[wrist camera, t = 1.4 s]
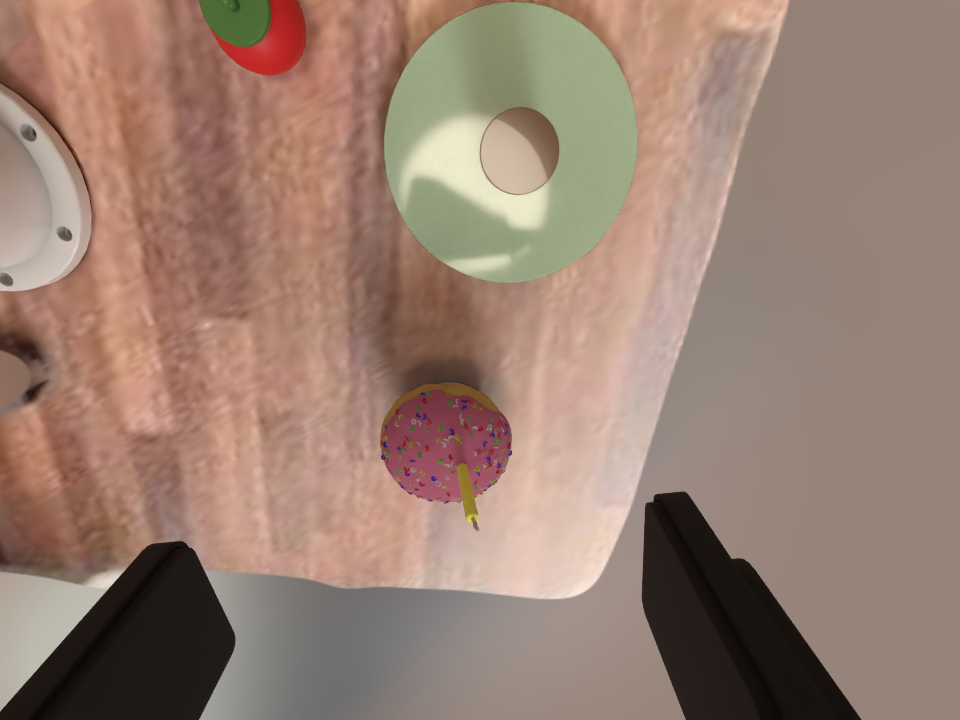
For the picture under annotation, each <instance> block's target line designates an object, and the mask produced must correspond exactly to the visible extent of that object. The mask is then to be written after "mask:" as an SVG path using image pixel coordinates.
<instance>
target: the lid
mask: <svg viewBox="0 0 960 720" xmlns="http://www.w3.org/2000/svg"><path fill="white" fill-rule="evenodd" d="M637 148H638V129H637V117H636V112H635V107H634V101H633V98H632V95H631V92H630V89H629V86H628V83H627V81H626V78H625V76H624V74H623V72H622V70H621V68H620V66H619V64H618V63H617V61H616V60H615V58H614V57H613V55H612V54H611V52H610V51H609V49H608V48H607V47H606V46H605V45H604V44H603V42H602V41H601V40H600V39H599V38H598V37H597V36H596V35H595V34H594V33H593V32H591V31H590V30H589V29H588V28H587V27H586V26H584V25H583V24H582V23H580V22H579V21H577V20H575V19H574V18H572V17H570V16H569V15H567V14H565V13H563V12H560V11H558V10H555V9H553V8H550V7H547V6H543V5H539V4H534V3H526V2H503V3H494V4H490V5H486V6H482V7H478V8H475V9H473V10H470V11H468V12H466V13H463V14H461V15H459V16H457V17H456V18H454V19H452V20H451V21H449V22H448V23H446V24H444V25H443V26H442V27H440V28H439V29H438V30H437V31H436V32H434V33H433V34H432V35H431V36H430V37H429V38H428V39H427V40H426V41H425V42H424V43H423V44H422V45H421V46H420V48H419V49H418V50H417V51H416V52H415V53H414V55H413V56H412V58H411V59H410V61H409V62H408V64H407V65H406V67H405V68H404V70H403V72H402V74H401V76H400V78H399V80H398V82H397V84H396V87H395V90H394V92H393V95H392V98H391V101H390V104H389V109H388V113H387V118H386V123H385V133H384V161H385V167H386V174H387V179H388V183H389V187H390V190H391V194H392V197H393V199H394V202H395V204H396V207H397V209H398V211H399V213H400V215H401V217H402V218H403V220H404V222H405V224H406V225H407V227H408V228H409V230H410V231H411V232H412V234H413V235H414V237H415V238H416V239H417V240H418V241H419V242H420V243H421V244H422V246H423V247H424V248H425V249H426V250H427V251H429V252H430V253H431V254H432V255H433V256H434V257H436V258H437V259H438V260H439V261H441V262H443V263H444V264H446V265H447V266H449V267H450V268H452V269H454V270H456V271H458V272H461V273H463V274H465V275H468V276H471V277H474V278H477V279H481V280H486V281H491V282H503V283H513V282H524V281H529V280H534V279H539V278H542V277H545V276H547V275H550V274H553V273H555V272H557V271H559V270H561V269H563V268H565V267H567V266H569V265H570V264H572V263H573V262H575V261H576V260H578V259H579V258H581V257H582V256H583V255H584V254H586V253H587V252H588V251H589V250H590V249H591V248H593V246H594V245H595V244H596V243H597V242H598V241H599V240H600V239H601V238H602V237H603V236H604V234H605V233H606V232H607V230H608V229H609V228H610V226H611V225H612V224H613V222H614V220H615V219H616V217H617V215H618V213H619V212H620V210H621V208H622V206H623V204H624V201H625V199H626V197H627V194H628V192H629V189H630V186H631V182H632V179H633V176H634V171H635V165H636V159H637Z"/></svg>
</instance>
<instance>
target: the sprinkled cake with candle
mask: <svg viewBox="0 0 960 720" xmlns="http://www.w3.org/2000/svg"><path fill="white" fill-rule="evenodd" d="M511 441H512V432H511V428H510V426H509V423H508V421H507V419H506V418H505V416H504V415H503V414H502V413H500V411H499V410H498V408H497V407H496V406H495V404H494V403H493V402H492V401H491V399H490V398H489V397H488V396H486V395H485V394H483V393H481V392H479V391H477V390H475V389H473V388H471V387H469V386H467V385H464V384H461V383H457V382H444V383H440V384H432V383H429V384H424V385H422V386H420V387H418V388H416V389H414V390H412V391H410V392H408V393H406V394H405V395H403V396H401V397H400V398H398V399H397V400H396V401H395V403H394V404H393V406H392V407H391V409H390V411H389V412H388V414H387V415H386V417H385V419H384V421H383V424H382V429H381V437H380V445H381V451H382V454H383V455H382V456H381V458H382V459H383V460H384V461H385V465H386V467H387V469H388V471H389V473H390V475H391V476H392V477H393V478H394V479H395V481H396V482H397V483H398V484H399V485H400V486H401V488H403V489H404V490H405V491H407V492H408V493H409V494H411V495H412V494H414V495H416V497H417V498H418V499H419V497H421V498H422V499H425V500H427V501H428V502H430V501H433V500H434V501H442V502H444V504H447V503H448V502H456V501H457V502H459V503H461V501H462V500H463V505H464V511H465V516H466V520H467V522H468V523H473V527H474V529H475V530H476V531H479V528H478V526H477V520H478V512H477V508H476V503H475V499H474V498H475V497H477V496H478V494H483V493H482V492H483V491H486V490H487V489H488V488H489V487H491V486H492V485H494V484H495V483H496V482H497V480H498V479H499V478H500V476H501V474H502V473H504V472H505V469H506V465H507V462H508V459H509V456H510V455H511V454H512V451H511ZM510 452H511V454H510ZM383 457H384V458H383ZM476 495H477V496H476ZM445 502H446V503H445Z"/></svg>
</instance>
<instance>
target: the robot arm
mask: <svg viewBox="0 0 960 720" xmlns="http://www.w3.org/2000/svg"><path fill="white" fill-rule="evenodd" d="M91 224H92V213H91V206H90V199H89V194H88V191H87V188H86V185H85V182H84V179H83V176H82V173H81V171H80V169H79V167H78V165H77V163H76V161H75V159H74V157H73V155H72V153H71V152H70V150H69V149H68V147H67V146H66V145H65V143H64V142H63V140H62V139H61V137H60V136H59V134H58V133H57V132H56V130H55V129H54V128H53V127H52V126H51V125H50V124H49V123H48V122H47V121H46V119H45V118H44V117H43V116H42V115H41V114H40V113H39V112H38V111H37V110H36V109H35V108H33V107H32V106H31V105H30V104H29V103H27V102H26V101H25V100H24V99H23V98H21V97H20V96H19V95H18V94H16V93H15V92H13V91H12V90H10V89H8V88H7V87H5V86H4V85H2V84H1V83H0V291H22V290H28V289H35V288H38V287H41V286H45V285H48V284H52V283H54V282H56V281H58V280H60V279H62V278H63V277H65V276H67V275H68V274H69V273H70V272H71V271H72V270H73V269H74V268H75V267H76V266H77V265H78V264H79V262H80V261H81V259H82V257H83V256H84V254H85V252H86V250H87V247H88V243H89V240H90V236H91ZM643 553H644V554H643V580H642V603H643V608H644V611H645V615H646V618H647V620H648V623H649V626H650V628H651V630H652V634H653V636H654V639H655V641H656V644H657V646H658V649H659V652H660V654H661V657H662V659H663V662H664V665H665V667H666V670H667V672H668V675H669V677H670V680H671V683H672V685H673V688H674V690H675V693H676V695H677V698H678V701H679V703H680V706H681V708H682V711H683V714H684V716H685V719H686V720H861V719H860V717H859V716H858V714H857V713H856V712H855V710H854V709H853V707H852V706H851V704H850V703H849V702H848V700H847V699H846V697H845V696H844V695H843V693H842V692H841V691H840V689H839V687H838V686H837V685H836V683H835V682H834V680H833V679H832V678H831V676H830V675H829V673H828V672H827V671H826V669H825V668H824V666H823V665H822V663H821V662H820V661H819V659H818V658H817V656H816V655H815V654H814V652H813V651H812V649H811V648H810V647H809V645H808V644H807V643H806V641H805V640H804V638H803V637H802V635H801V634H800V633H799V631H798V630H797V628H796V627H795V625H794V624H793V623H792V621H791V620H790V618H789V617H788V616H787V614H786V613H785V611H784V610H783V609H782V607H781V606H780V604H779V603H778V601H777V600H776V599H775V597H774V596H773V594H772V593H771V592H770V590H769V589H768V587H767V586H766V585H765V583H764V582H763V580H762V579H761V578H760V576H759V575H758V573H757V572H756V570H755V569H754V568H753V567H752V566H751V565H750V563H748V562H747V561H745V560H744V559H738V558H737V559H731V557H730V556H729V554H728V553H727V551H726V550H725V548H724V547H723V545H722V544H721V542H720V541H719V540H718V538H717V536H716V535H715V533H714V532H713V530H712V529H711V528H710V526H709V524H708V523H707V522H706V520H705V519H704V517H703V515H702V514H701V512H700V511H699V510H698V508H697V507H696V505H695V504H694V502H693V501H692V499H691V498H690V496H689V495H688V494H687V493H686V492H673V493H663V494H656V495H655V496H654V501H653V502H649V503H646V506H645V525H644V552H643ZM234 647H235V634H234V631H233V629H232V627H231V625H230V623H229V621H228V619H227V617H226V615H225V613H224V611H223V608H222V606H221V604H220V603H219V600H218V599H217V596H216V594H215V592H214V590H213V588H212V586H211V584H210V582H209V580H208V577H207V575H206V573H205V571H204V569H203V567H202V565H201V563H200V561H199V559H198V557H197V555H196V553H195V551H194V550H193V549H192V548H189V547H188V546H187V544H186V543H184V542H182V541H176V542H166V543H156V544H151V545H149V546H147V547H146V548H145V549H144V550H143V551H142V552H141V553H140V554H139V555H138V556H137V558H136V559H135V560H134V561H133V562H132V563H131V564H130V565H129V567H128V568H127V569H126V570H125V571H124V572H123V573H122V574H121V576H120V577H119V578H118V579H117V580H116V581H115V582H114V584H113V585H112V586H111V587H110V588H109V589H108V590H107V591H106V593H105V594H104V595H103V596H102V597H101V598H100V599H99V601H98V602H97V603H96V604H95V605H94V606H93V607H92V609H91V610H90V611H89V612H88V613H87V614H86V615H85V616H84V617H83V619H82V620H81V621H80V622H79V623H78V624H77V625H76V627H75V628H74V629H73V630H72V631H71V632H70V633H69V635H68V636H67V637H66V638H65V639H64V640H63V641H62V643H61V644H60V645H59V646H58V647H57V648H56V649H55V650H54V652H53V653H52V654H51V655H50V656H49V657H48V658H47V659H46V660H45V662H44V663H43V664H42V665H41V666H40V667H39V668H38V670H37V671H36V672H35V673H34V674H33V675H32V676H31V678H30V679H29V680H28V681H27V682H26V683H25V684H24V685H23V686H22V688H21V689H20V690H19V691H18V692H17V693H16V694H15V696H14V697H13V698H12V699H11V700H10V701H9V702H8V703H7V705H6V706H5V707H4V708H3V709H2V710H1V712H0V720H199V719H200V717H201V715H202V712H203V711H204V709H205V707H206V704H207V703H208V701H209V699H210V697H211V695H212V693H213V691H214V689H215V687H216V685H217V683H218V681H219V679H220V677H221V675H222V673H223V671H224V669H225V667H226V665H227V663H228V661H229V659H230V657H231V655H232V653H233V651H234Z"/></svg>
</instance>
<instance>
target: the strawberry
mask: <svg viewBox="0 0 960 720" xmlns="http://www.w3.org/2000/svg"><path fill="white" fill-rule="evenodd" d="M200 6H201V10H202V13H203V15H204V18H205V20H206V22H207V23H208V25H209V27H210V28H211V31H212V33H213V35H214V37H215V38H216V40H217V42H218V43H219V45H220V46H221V48H222V49H223V50H224V51H225V52H226V54H227V55H228V56H229V57H230V58H231V59H233V60H234V61H235V62H236V63H237V64H239V65H240V66H242V67H244V68H245V69H247V70H249V71H252V72H255V73H258V74H262V75H277V74H281V73H284V72H286V71H288V70H289V69H291V68H292V67H293V66H294V65H295V64H296V63H297V62H298V61H299V59H300V57H301V56H302V53H303V51H304V47H305V43H306V25H305V20H304V16H303V12H302V10H301V7H300V5H299V3H298V1H297V0H200Z"/></svg>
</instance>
